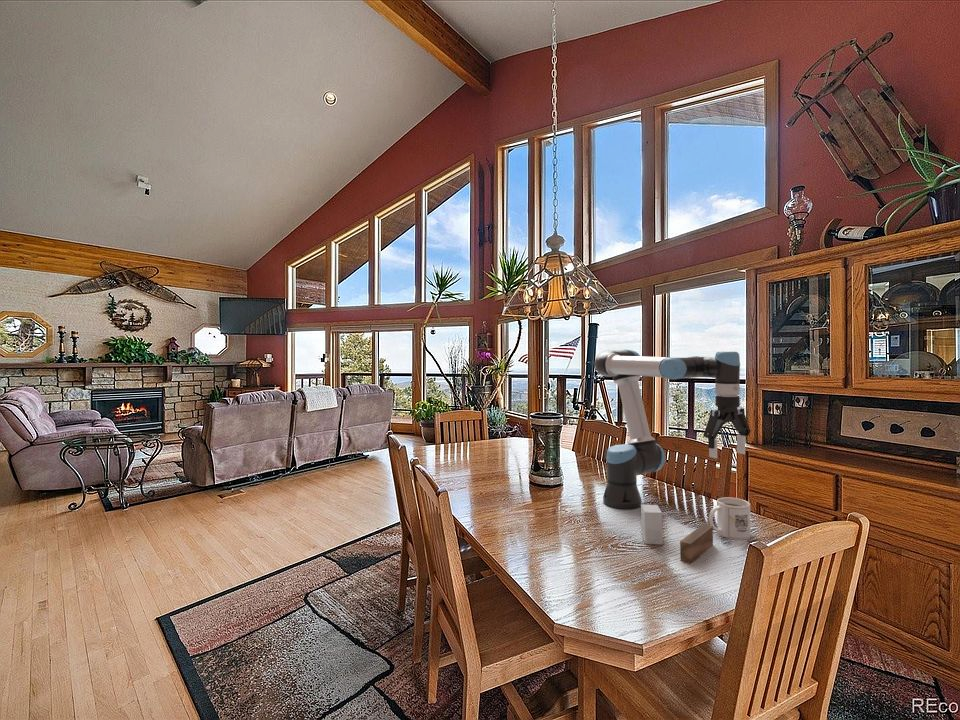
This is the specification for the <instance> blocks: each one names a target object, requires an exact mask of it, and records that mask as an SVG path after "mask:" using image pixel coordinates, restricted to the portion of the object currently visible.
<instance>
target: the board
mask: <svg viewBox="0 0 960 720" xmlns="http://www.w3.org/2000/svg"><path fill="white" fill-rule="evenodd" d="M713 545H714V529H713V526H711V525H710V524H709V525H708V524H704V523H702V524H701V525H700V526H698V527H697V528H695V529H694V530H693V531H692V532H690V533H689V534H687V535H686V536H685V537H684V538H682V539H681V540H680V541H679V552H680V553H679V556H680V559H679V560H680V562H682V563H685V564H687V565H688V564H689V565H692V564H693V563H694V562H695V561H696V560H698V559H699V558H700V557H701V556H702V555H703V554H704V553H706V552H707V551H708V550H709V549H710V548H711V547H713Z"/></svg>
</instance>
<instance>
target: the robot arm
mask: <svg viewBox="0 0 960 720" xmlns="http://www.w3.org/2000/svg"><path fill="white" fill-rule="evenodd" d="M594 368H595V371H596V372H597V373H598V374H599V375H600V376H602V377H606V378H612V380H613V382H614V384H616V385H617V386H618V390H619V394H620V396H619V397H620V400H621V404H622V408H623V413H624V417H625V422H626V426H627V430H628V434H629V435H628V436H629V440H628V442H627V443H622V444H615V445H611V446H609V447H608V448H607V450H606V457H605V459H606V478H607V479H606V480H607V481H606V482H607V483H606V487H605V489H604V492H603V495H602V501H603V502H602V503H604V504H605V506H607V507H611V508H614V509H620V510H633V509H637V508H641V504H642V502H643V501H642V497H641V494H640V492H639V488H638V484H637V483H638V482H637V481H638V479H637V476H642V475H645V474H653V473H655V472H658V471H660V470H661V469H662V468H663V467H664V465H665V462H666V455H665V454H666V452H665V451H664V449H663V447H661V445H659V444H658V443H657V441H656V438H654V437H653V436H651V431H650V427H649V422H648V419H647V418H648V417H647V414H646V409H645V405H644V401H643V397H642V391H641V387H640V384H639V381H640V379H641V378H642V377H651V378H653V377H654V378H664V379H667V380H679V379H695V378H713V379H715V387H714V388H715V390H714V391H715V392H714V393H715V395H716V396H715V400H714V401H715V406H716V407H717V410H715V409H711V410H710V412H709V417H708V420H707V423H706V427H705V429H704V432H703V435H702V436H703V437H704V438H706V439H707V441H708V442H707V443H708V444H707V446H708V457H709V458H712V459H718V439H716V438H717V436H718V435H719V433H720V431H721V430H722V429H723V428H722V427H723V426H724V425H725V424H726V423H731V424H732V426H733V427H734V429H735V430H736V432H737V433H738V434H736V453H737V454H741V455H746V443H747V437H748V436H749V435H750V434H751V428H750V426H749V422H748V420H747V417H746V415H745V413H746V412H745V408H743V407H740V406H741V405H740V403H741V402H740V401H741V398H740V396H739V395H740V394H741V393H740V392H741V391H740V386H741V385H740V384H741V383H740V381H741V380H740V375H741V358H740V353H739V352H737V351H716V352H715V354H714V356H698V355H697V356H693V355H692V356H688V357H673V356H672V357H663V356H662V357H661V356H642V355H640V353H639V352H637V351H635V350H631V349H619V350H618V349H616V350H615V349H614V350H611V349H610V350H604V351H601V352H600V353H598V354H597V356H596V357H595V360H594Z"/></svg>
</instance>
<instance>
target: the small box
mask: <svg viewBox="0 0 960 720" xmlns="http://www.w3.org/2000/svg"><path fill="white" fill-rule="evenodd" d="M640 519H641V520H640V521H641V522H640V523H641V525H640V526H641V536H642V538H643V539H642V540H643V541H644V544H645V545H646V544H647V545H664V532H663V531H664V528H663V527H664V526H663V525H664V524H663V523H664V522H663V512H662V510H661V509H660V507H659V505H658V504H646V503H645V504H644V503H643V504H641V506H640Z"/></svg>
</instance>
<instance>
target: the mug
mask: <svg viewBox="0 0 960 720" xmlns="http://www.w3.org/2000/svg"><path fill="white" fill-rule="evenodd" d="M715 513H717V515H716V521H717V522H716V523H717V527H716V526H715V524H714V515H715ZM708 523H709V526H713V530H715V531H716V532H717V534H719V535H720V536H722V537H724V538H727V539H730V540H736V541H745V539H746V540H749V539H750V538H751V537H752V536H751V535H752V533H751V527H752V526H751V525H752V523H751V503H750V502H749V501H747V500H744V499H742V498H738V497H730V496H728V497H719V498H717V500H716V506H713V508H711V509H710V512H709V514H708Z"/></svg>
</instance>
